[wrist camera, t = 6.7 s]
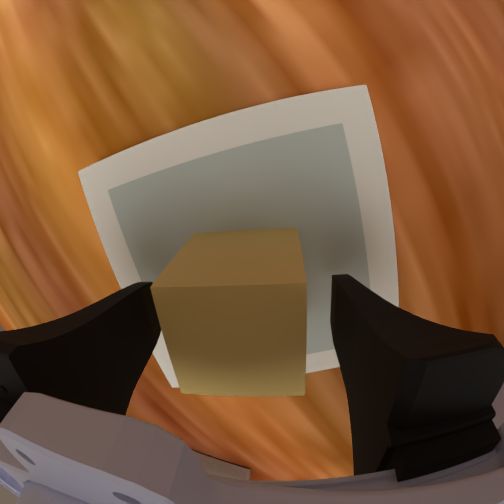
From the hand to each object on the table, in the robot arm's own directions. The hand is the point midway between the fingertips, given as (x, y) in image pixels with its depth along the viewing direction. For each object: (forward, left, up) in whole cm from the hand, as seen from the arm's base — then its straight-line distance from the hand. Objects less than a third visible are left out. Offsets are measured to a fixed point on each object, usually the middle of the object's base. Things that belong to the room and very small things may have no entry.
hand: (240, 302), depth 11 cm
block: (0, 0, -3) cm, 3 cm away
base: (0, 0, -5) cm, 5 cm away
